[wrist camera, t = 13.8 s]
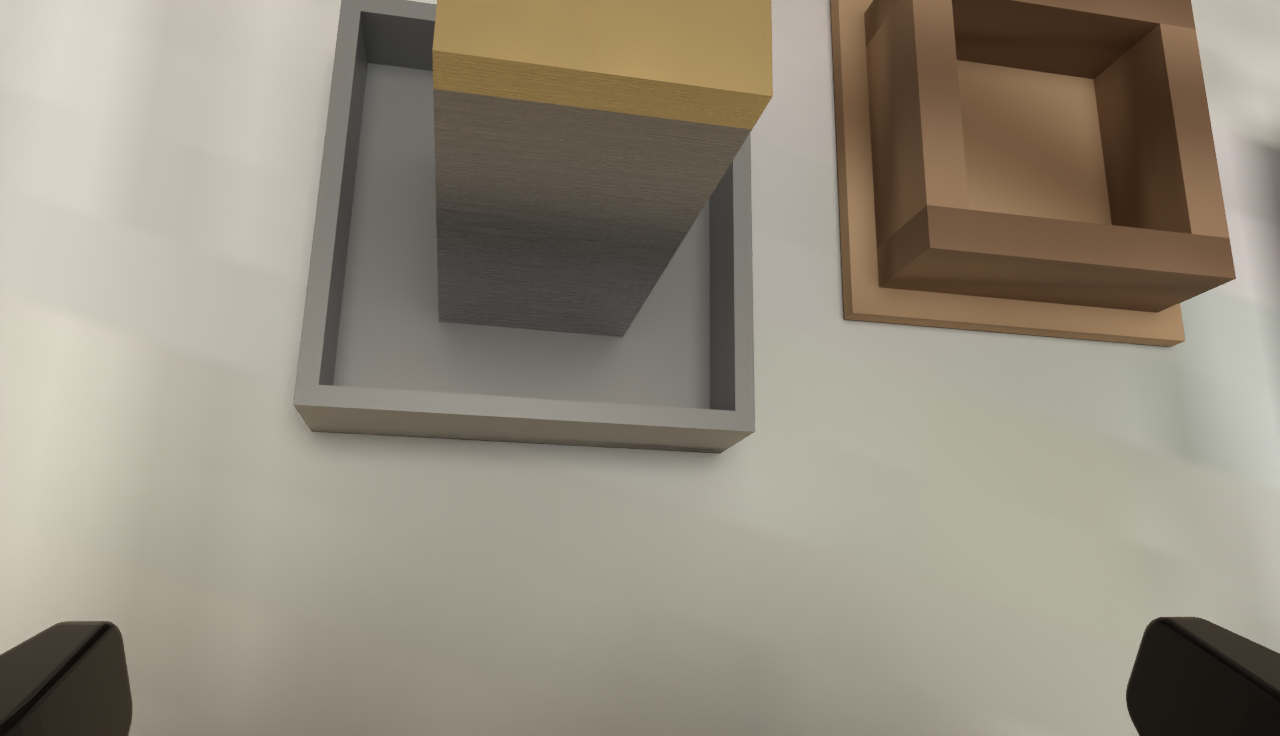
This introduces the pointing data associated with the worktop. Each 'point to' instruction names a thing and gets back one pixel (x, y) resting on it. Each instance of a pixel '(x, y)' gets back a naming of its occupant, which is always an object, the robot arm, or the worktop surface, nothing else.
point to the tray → (488, 355)
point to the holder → (1026, 166)
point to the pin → (582, 148)
